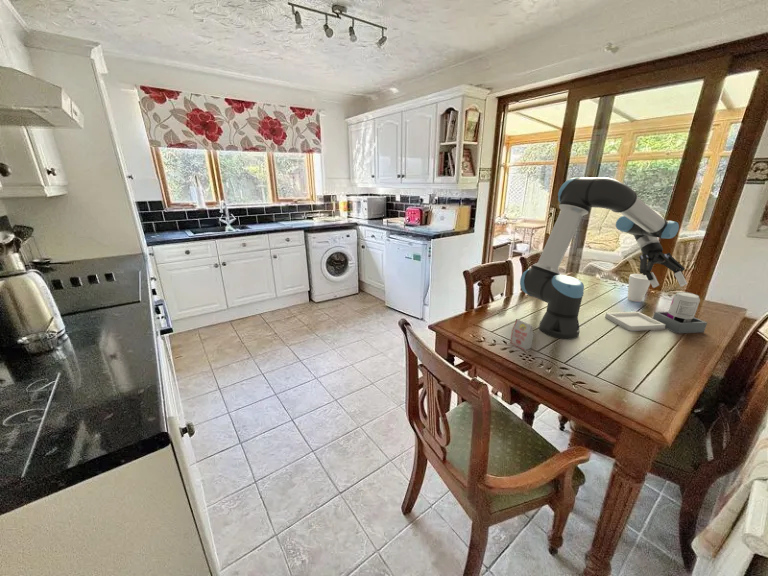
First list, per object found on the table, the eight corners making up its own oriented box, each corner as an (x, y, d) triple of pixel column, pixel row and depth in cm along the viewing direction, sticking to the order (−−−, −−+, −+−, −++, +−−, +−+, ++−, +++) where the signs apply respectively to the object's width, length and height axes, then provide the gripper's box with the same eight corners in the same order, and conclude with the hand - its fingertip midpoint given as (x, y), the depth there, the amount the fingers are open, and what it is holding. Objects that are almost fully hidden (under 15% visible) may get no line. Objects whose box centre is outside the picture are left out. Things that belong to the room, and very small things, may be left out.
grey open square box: (677, 333, 131) (680, 323, 129) (651, 321, 142) (654, 312, 141) (703, 332, 132) (707, 322, 130) (676, 320, 143) (679, 311, 142)
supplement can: (660, 323, 139) (670, 292, 134) (672, 321, 142) (683, 290, 137) (681, 332, 132) (692, 299, 127) (694, 329, 134) (706, 296, 129)
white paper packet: (516, 340, 126) (519, 318, 123) (531, 347, 121) (535, 324, 117) (510, 342, 125) (513, 320, 121) (524, 350, 119) (528, 326, 116)
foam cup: (638, 296, 171) (644, 274, 166) (650, 303, 162) (657, 279, 158) (619, 296, 171) (625, 273, 167) (630, 302, 163) (637, 279, 158)
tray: (629, 331, 133) (630, 326, 132) (604, 317, 146) (606, 312, 146) (664, 329, 134) (665, 324, 134) (636, 315, 148) (638, 311, 147)
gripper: (667, 249, 153) (687, 288, 144) (619, 250, 151) (637, 290, 142) (681, 240, 147) (703, 281, 138) (631, 242, 144) (651, 283, 136)
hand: (670, 285), depth 140 cm, fingers open, 13 cm apart
